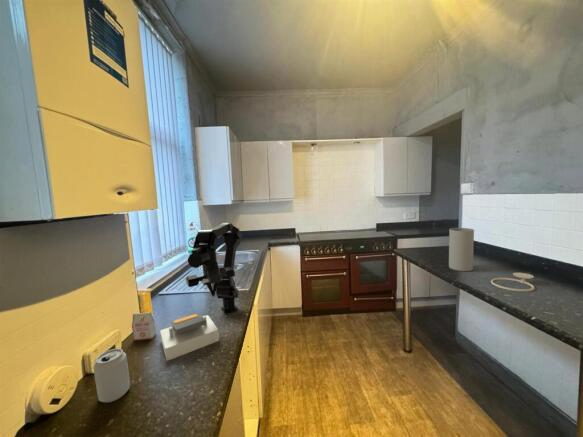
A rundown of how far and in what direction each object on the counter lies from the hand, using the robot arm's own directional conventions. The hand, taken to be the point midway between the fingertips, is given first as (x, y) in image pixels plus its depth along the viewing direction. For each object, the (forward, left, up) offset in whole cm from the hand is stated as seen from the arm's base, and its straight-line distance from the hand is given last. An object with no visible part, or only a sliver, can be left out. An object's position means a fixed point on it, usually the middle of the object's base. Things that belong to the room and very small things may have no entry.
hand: (213, 296), depth 103 cm
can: (+18, -34, -13) cm, 41 cm away
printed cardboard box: (-10, -25, -13) cm, 30 cm away
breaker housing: (+5, -11, -13) cm, 18 cm away
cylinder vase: (+35, +145, -13) cm, 149 cm away
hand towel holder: (+63, +136, -13) cm, 151 cm away
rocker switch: (+5, -11, -6) cm, 14 cm away
